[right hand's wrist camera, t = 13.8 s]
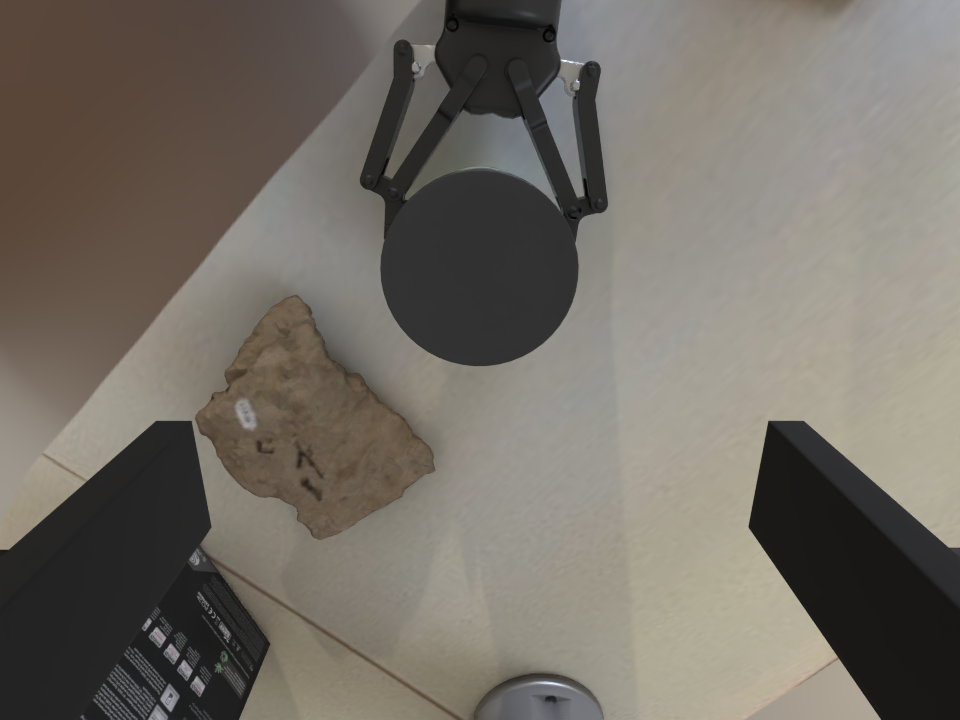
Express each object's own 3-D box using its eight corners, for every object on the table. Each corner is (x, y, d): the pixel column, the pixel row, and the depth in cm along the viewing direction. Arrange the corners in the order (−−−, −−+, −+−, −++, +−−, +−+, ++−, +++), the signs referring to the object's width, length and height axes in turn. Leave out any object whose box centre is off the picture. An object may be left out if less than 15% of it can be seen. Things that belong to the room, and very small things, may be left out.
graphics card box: (133, 544, 61) (-113, 833, 36) (189, 520, 60) (-23, 800, 35) (225, 658, 67) (68, 980, 41) (278, 638, 66) (150, 955, 40)
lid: (535, 376, 38) (538, 388, 36) (365, 324, 37) (359, 334, 35) (601, 204, 34) (609, 208, 33) (415, 141, 33) (411, 141, 31)
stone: (160, 388, 52) (144, 418, 46) (294, 283, 52) (293, 300, 47) (322, 529, 61) (324, 567, 56) (435, 439, 61) (448, 469, 56)
